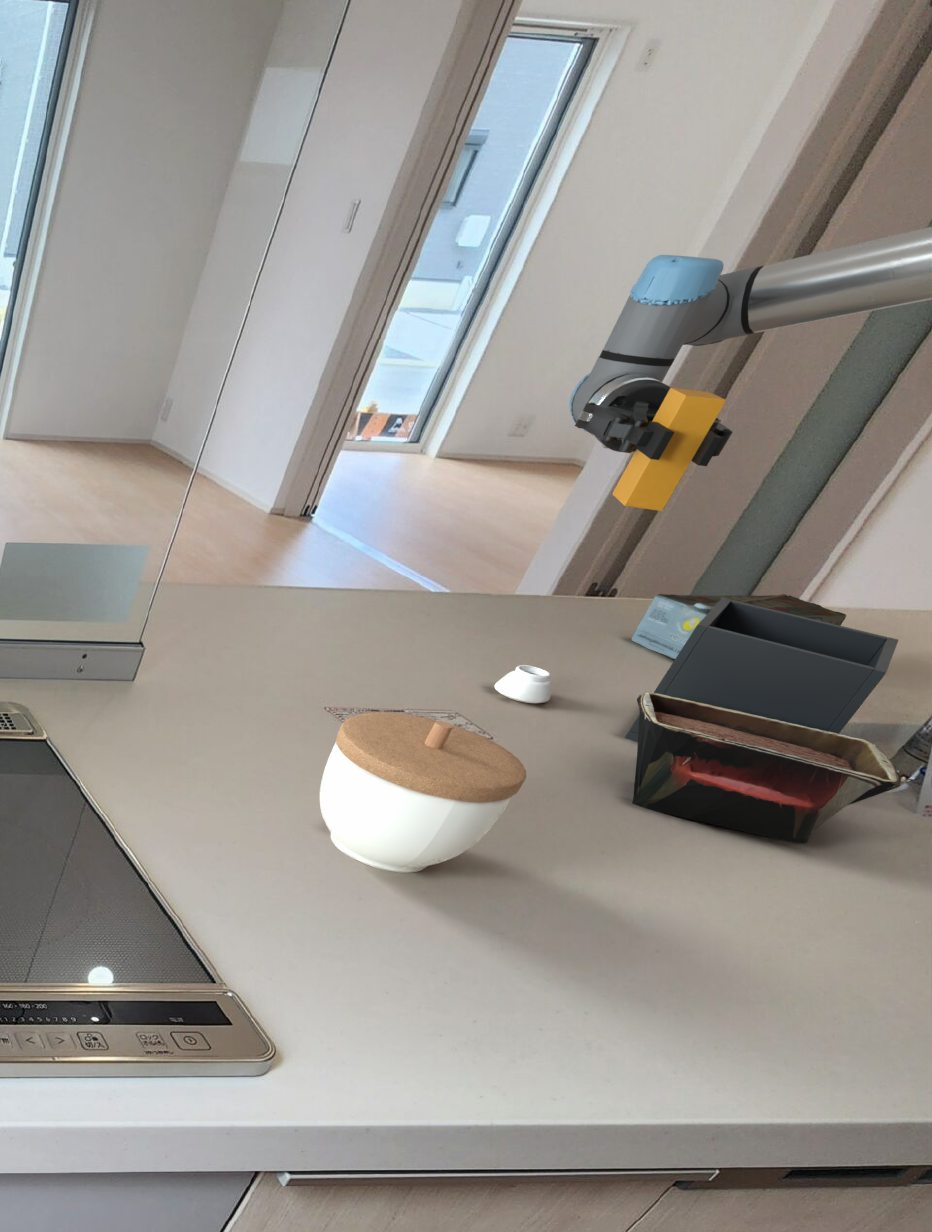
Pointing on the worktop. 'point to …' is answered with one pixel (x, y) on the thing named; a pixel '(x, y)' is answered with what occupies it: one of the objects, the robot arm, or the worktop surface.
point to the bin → (777, 666)
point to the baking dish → (750, 769)
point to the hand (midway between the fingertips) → (686, 448)
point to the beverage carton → (682, 613)
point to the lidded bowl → (413, 790)
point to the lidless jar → (526, 685)
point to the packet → (669, 449)
